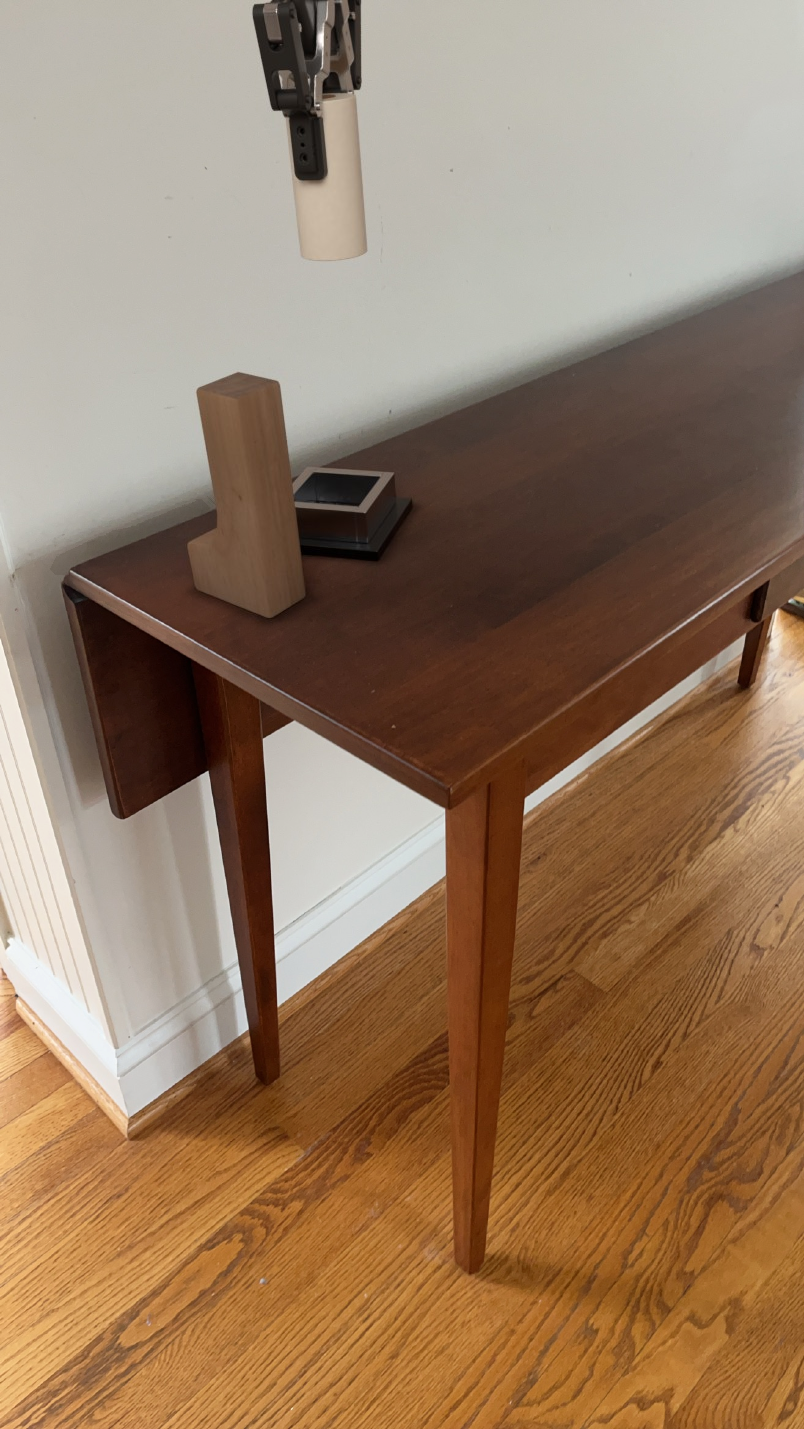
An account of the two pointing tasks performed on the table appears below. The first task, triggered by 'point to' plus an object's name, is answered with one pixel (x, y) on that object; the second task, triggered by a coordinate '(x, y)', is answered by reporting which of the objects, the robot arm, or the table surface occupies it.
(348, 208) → the paper roll
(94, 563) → the table surface
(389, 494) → the stand
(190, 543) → the wooden block
